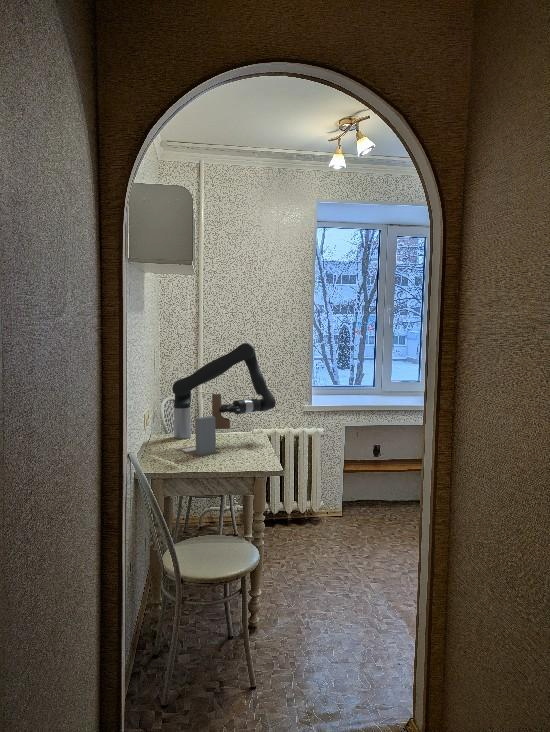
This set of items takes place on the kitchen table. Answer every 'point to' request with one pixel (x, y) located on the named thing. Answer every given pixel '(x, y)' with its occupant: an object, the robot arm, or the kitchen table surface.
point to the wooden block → (219, 419)
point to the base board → (194, 451)
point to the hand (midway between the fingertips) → (216, 409)
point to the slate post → (205, 435)
